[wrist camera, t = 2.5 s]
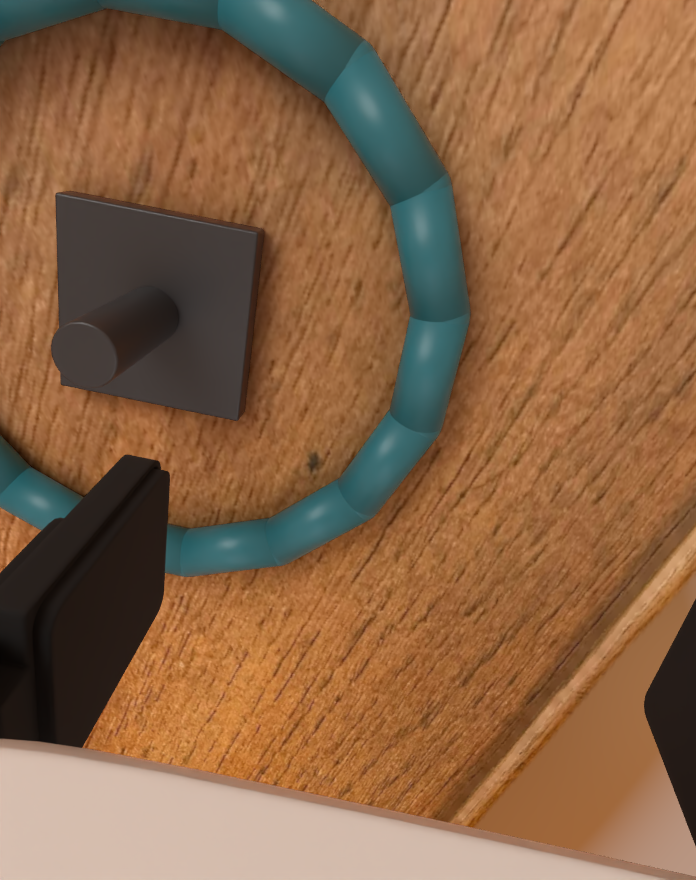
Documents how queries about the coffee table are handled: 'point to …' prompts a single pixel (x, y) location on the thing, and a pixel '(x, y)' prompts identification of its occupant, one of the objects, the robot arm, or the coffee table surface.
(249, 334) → the post
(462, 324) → the ring
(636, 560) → the coffee table surface
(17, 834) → the robot arm
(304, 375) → the coffee table surface
